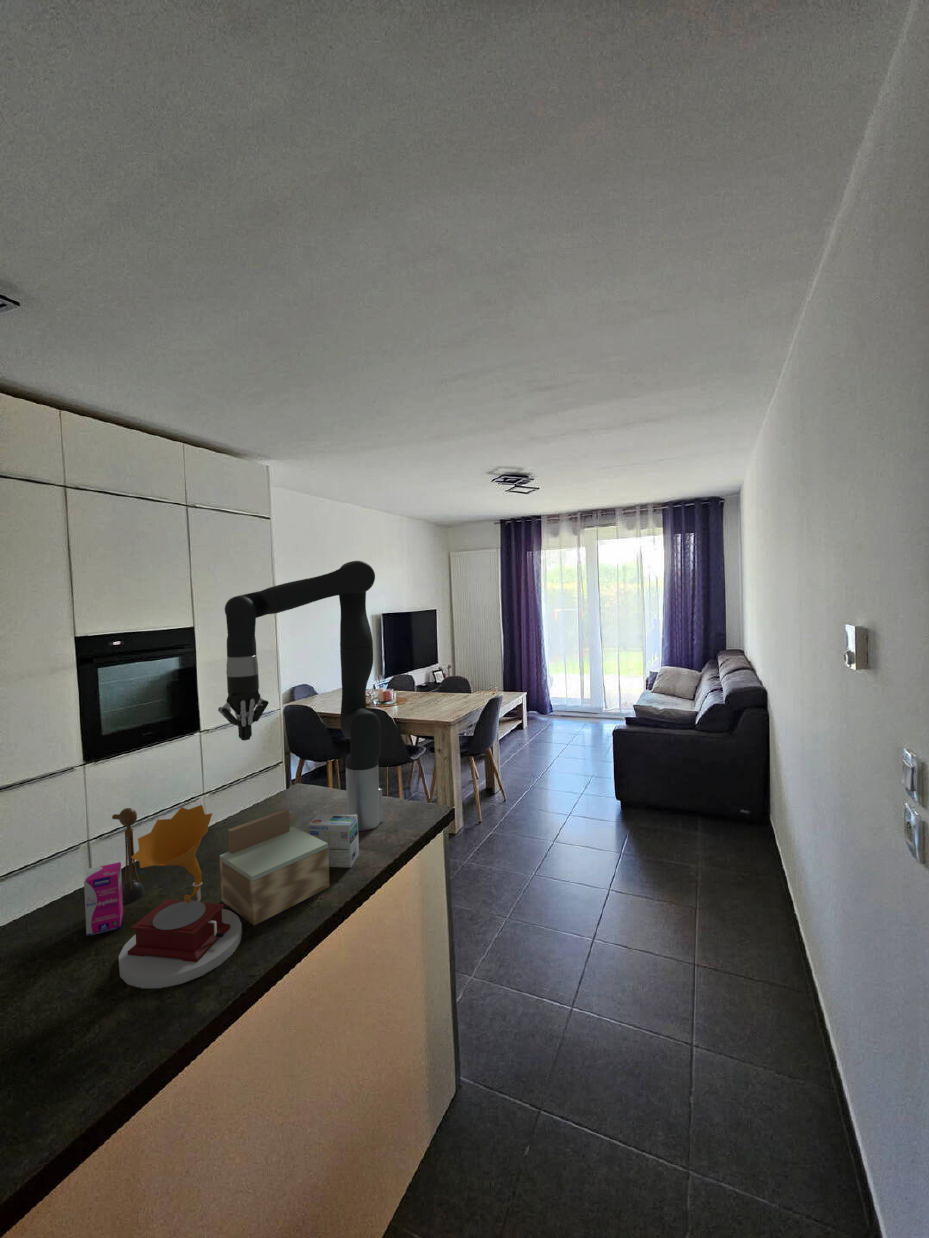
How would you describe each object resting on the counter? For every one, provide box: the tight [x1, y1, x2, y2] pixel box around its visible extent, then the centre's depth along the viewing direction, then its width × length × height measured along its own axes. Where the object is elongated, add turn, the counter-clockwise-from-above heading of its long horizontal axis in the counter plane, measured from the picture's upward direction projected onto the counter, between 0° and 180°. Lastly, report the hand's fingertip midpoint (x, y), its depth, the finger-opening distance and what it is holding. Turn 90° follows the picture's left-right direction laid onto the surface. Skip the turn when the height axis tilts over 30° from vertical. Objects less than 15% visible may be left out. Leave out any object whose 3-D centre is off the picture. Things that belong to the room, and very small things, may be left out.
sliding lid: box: [219, 809, 328, 881], centre depth 118 cm, size 18×14×6 cm
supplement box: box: [83, 862, 124, 937], centre depth 108 cm, size 6×6×12 cm
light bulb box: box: [307, 813, 360, 869], centre depth 133 cm, size 11×7×11 cm, turn 84°
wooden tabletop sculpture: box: [111, 807, 146, 903], centre depth 119 cm, size 6×5×20 cm
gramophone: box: [118, 804, 243, 989], centre depth 100 cm, size 20×20×25 cm
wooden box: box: [219, 848, 330, 926], centre depth 119 cm, size 18×14×9 cm
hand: (245, 739), depth 139 cm, fingers closed
